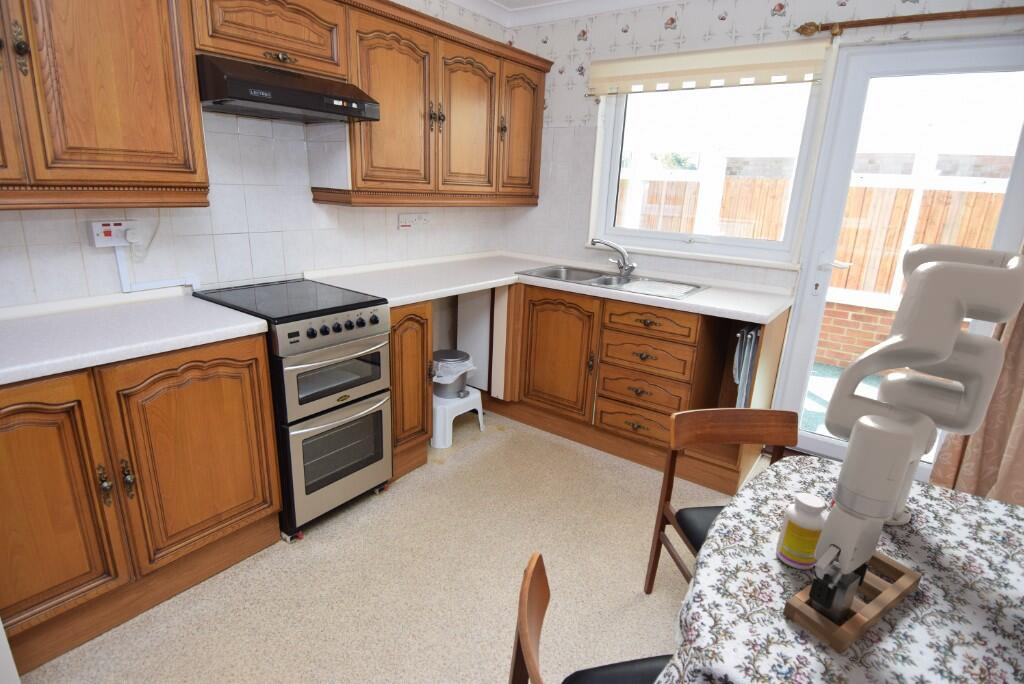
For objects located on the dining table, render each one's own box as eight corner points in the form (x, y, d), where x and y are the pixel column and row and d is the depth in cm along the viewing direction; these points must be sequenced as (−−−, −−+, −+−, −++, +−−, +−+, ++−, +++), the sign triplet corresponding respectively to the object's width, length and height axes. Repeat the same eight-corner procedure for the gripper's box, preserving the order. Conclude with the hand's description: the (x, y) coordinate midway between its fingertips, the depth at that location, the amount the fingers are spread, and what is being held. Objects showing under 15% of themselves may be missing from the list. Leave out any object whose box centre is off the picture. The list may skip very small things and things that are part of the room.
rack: (863, 556, 102) (867, 545, 101) (917, 586, 95) (922, 574, 94) (783, 613, 87) (786, 600, 86) (840, 654, 80) (844, 640, 79)
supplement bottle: (819, 574, 96) (837, 513, 93) (780, 567, 98) (796, 507, 94) (807, 550, 103) (823, 492, 99) (771, 544, 104) (785, 486, 100)
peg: (820, 605, 89) (834, 561, 86) (846, 622, 86) (860, 576, 83) (808, 615, 87) (821, 569, 84) (833, 632, 83) (848, 586, 81)
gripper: (864, 471, 87) (838, 558, 92) (808, 500, 78) (782, 595, 83) (917, 494, 81) (886, 586, 86) (863, 529, 72) (832, 630, 77)
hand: (835, 591), depth 84 cm, fingers open, 9 cm apart
